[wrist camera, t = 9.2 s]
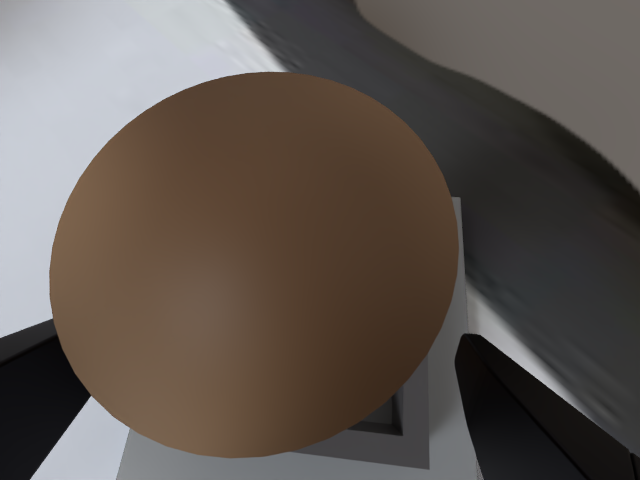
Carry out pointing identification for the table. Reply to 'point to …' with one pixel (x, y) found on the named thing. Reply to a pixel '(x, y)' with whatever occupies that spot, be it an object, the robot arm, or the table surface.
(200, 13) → the table surface
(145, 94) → the table surface
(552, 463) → the robot arm
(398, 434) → the collar
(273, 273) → the peg
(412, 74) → the table surface
